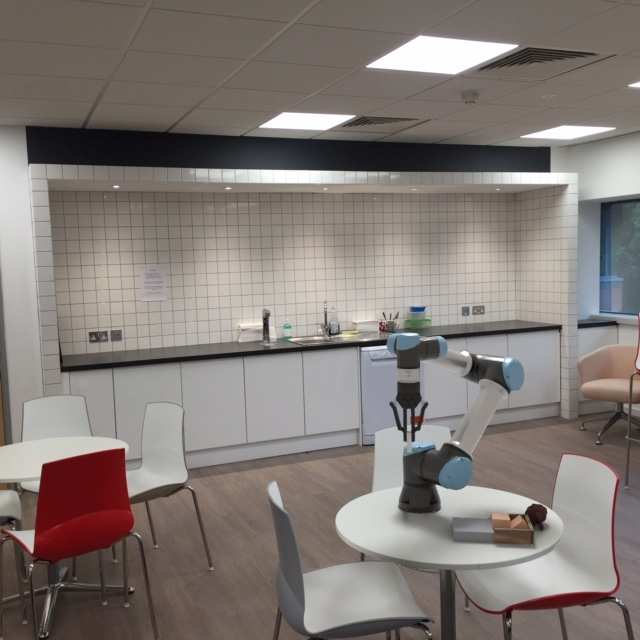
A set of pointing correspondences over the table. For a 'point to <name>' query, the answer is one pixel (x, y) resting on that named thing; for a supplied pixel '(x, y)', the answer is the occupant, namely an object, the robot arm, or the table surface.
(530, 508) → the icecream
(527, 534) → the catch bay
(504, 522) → the tile
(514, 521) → the tile
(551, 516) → the table surface
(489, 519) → the board
